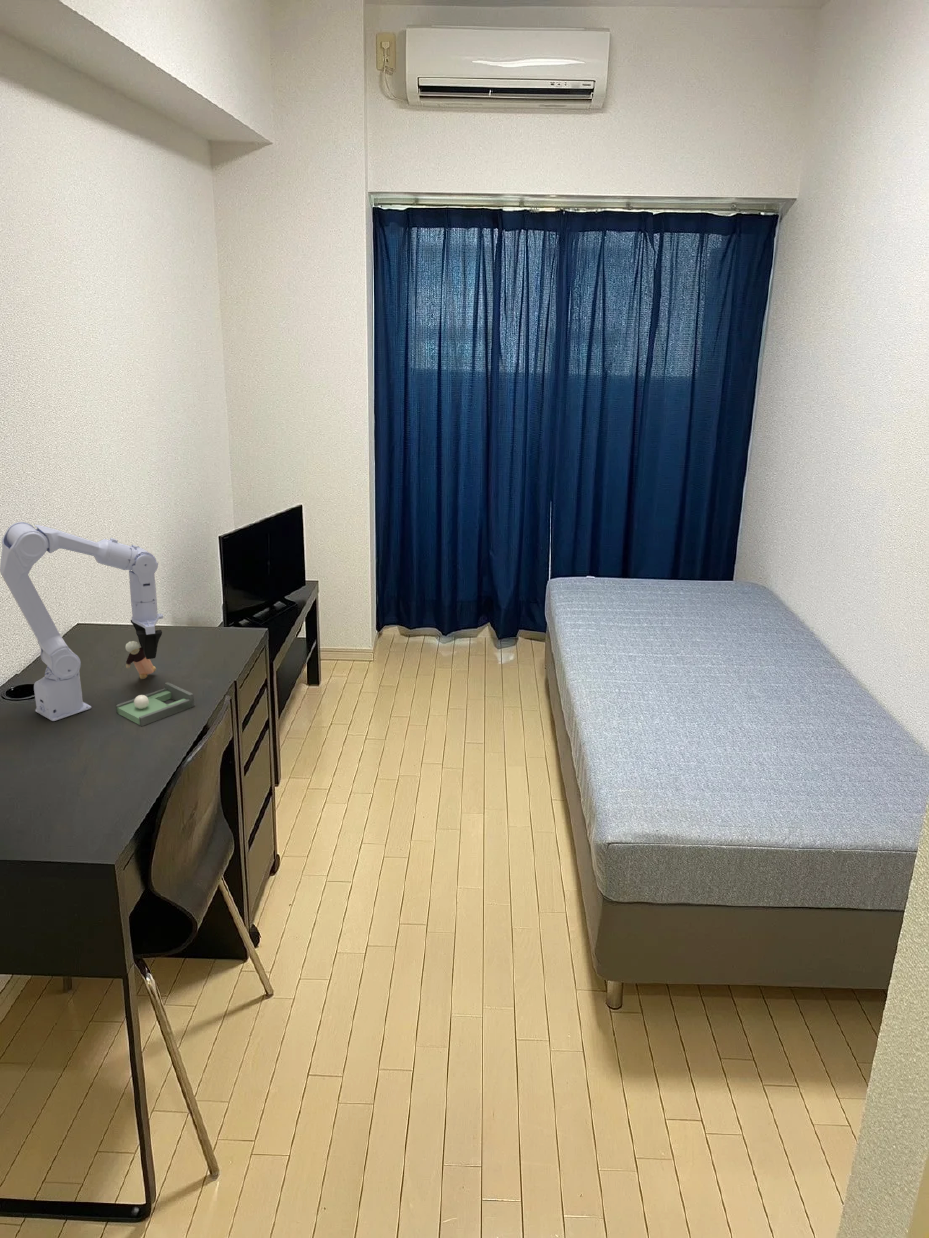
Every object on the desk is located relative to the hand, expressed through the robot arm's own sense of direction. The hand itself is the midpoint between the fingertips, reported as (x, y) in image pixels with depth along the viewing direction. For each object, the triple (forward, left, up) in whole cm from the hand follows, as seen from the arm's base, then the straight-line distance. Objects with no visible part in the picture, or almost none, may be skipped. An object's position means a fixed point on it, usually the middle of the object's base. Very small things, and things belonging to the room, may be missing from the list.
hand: (148, 652), depth 218 cm
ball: (-9, -10, -7) cm, 15 cm away
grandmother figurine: (+4, +7, -8) cm, 12 cm away
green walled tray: (-6, -10, -10) cm, 15 cm away
